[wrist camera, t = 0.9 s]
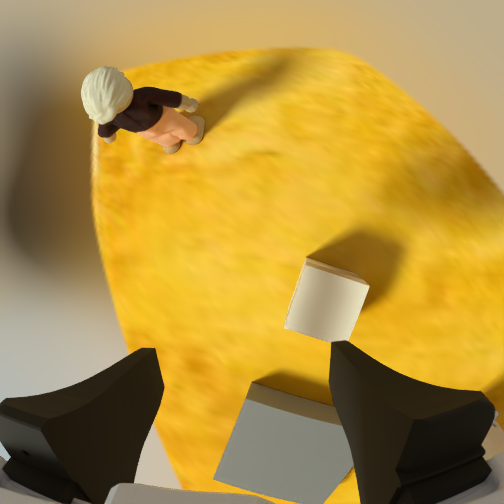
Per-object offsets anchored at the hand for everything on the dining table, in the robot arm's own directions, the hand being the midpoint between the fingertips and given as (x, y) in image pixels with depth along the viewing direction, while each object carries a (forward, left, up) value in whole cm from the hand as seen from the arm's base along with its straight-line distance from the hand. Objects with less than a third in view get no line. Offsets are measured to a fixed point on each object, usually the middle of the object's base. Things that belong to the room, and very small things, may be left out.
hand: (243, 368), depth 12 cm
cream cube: (-4, -1, -14) cm, 14 cm away
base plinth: (-7, +15, -14) cm, 21 cm away
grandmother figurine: (+12, -10, -14) cm, 21 cm away
